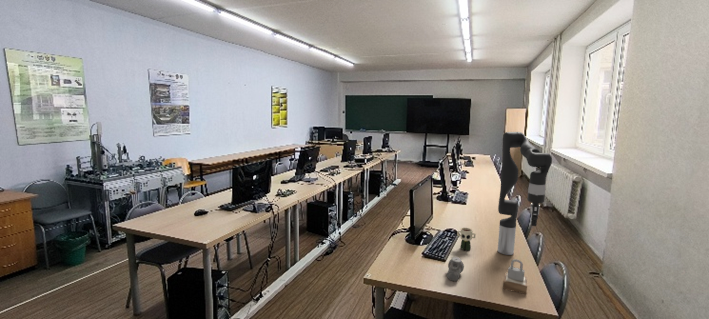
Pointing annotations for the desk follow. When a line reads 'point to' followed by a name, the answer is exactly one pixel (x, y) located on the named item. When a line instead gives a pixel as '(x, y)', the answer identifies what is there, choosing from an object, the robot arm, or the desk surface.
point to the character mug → (466, 238)
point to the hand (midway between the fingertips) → (533, 223)
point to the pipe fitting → (455, 268)
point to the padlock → (516, 271)
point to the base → (515, 284)
